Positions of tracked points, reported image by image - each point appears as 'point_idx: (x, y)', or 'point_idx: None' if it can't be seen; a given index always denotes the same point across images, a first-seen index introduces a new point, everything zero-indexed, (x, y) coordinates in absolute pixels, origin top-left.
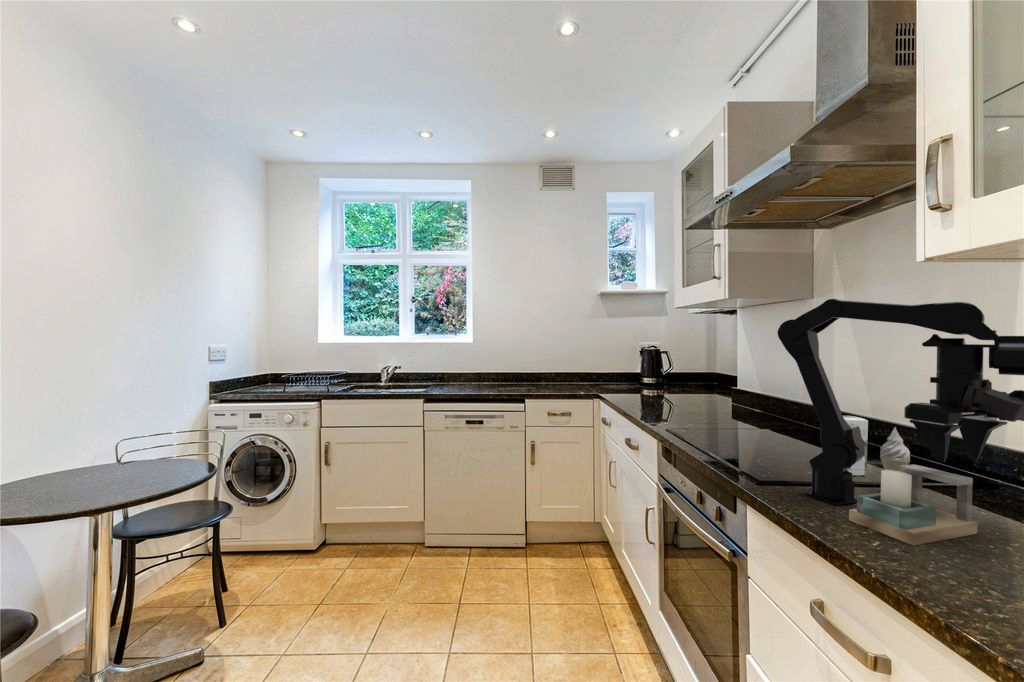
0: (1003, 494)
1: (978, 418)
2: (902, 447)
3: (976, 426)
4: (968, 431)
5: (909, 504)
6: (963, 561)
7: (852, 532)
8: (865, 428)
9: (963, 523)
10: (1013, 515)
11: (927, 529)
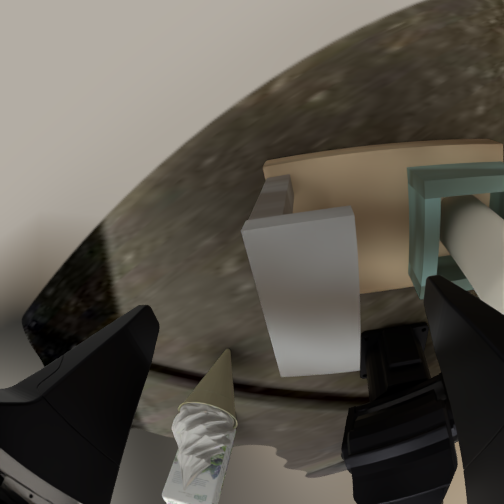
0: (42, 308)
1: (29, 480)
2: (191, 438)
3: (61, 447)
4: (101, 437)
5: (478, 209)
6: (462, 63)
7: None
8: (171, 483)
9: (317, 163)
10: (85, 241)
11: (457, 150)
